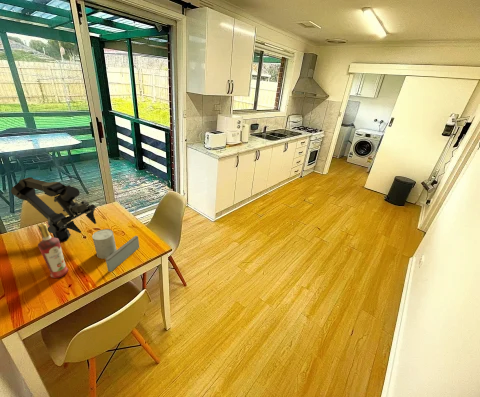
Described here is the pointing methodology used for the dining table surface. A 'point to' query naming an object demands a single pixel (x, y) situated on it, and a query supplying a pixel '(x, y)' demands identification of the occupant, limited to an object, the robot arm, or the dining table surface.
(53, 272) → the liquor
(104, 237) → the grey stubby cylinder
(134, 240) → the grey rectangular panel
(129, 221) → the dining table surface
